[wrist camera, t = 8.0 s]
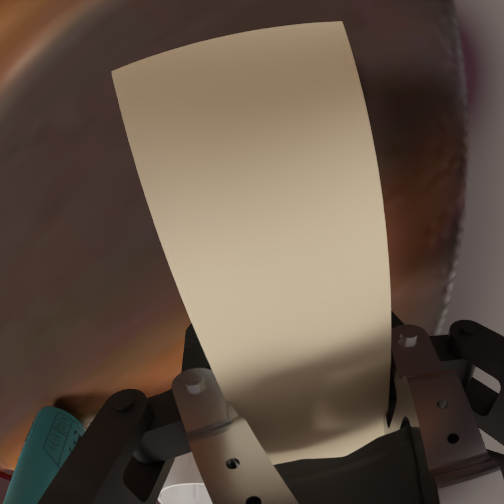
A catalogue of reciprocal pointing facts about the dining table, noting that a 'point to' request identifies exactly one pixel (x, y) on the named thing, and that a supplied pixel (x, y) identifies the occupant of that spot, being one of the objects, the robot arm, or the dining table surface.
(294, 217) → the wooden block
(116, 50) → the dining table surface
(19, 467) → the beverage bottle
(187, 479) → the white cup
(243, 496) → the robot arm
